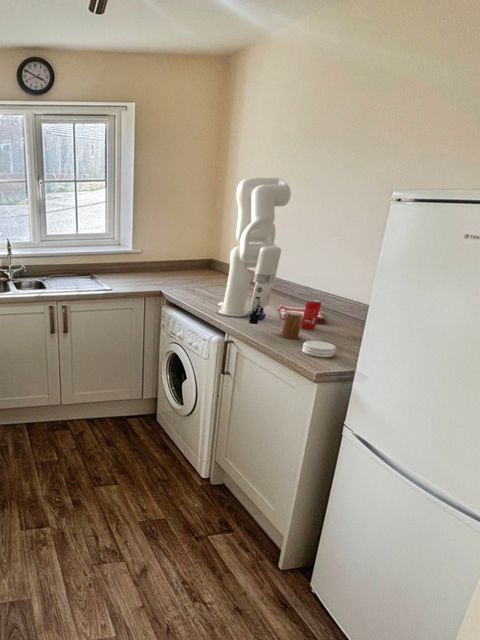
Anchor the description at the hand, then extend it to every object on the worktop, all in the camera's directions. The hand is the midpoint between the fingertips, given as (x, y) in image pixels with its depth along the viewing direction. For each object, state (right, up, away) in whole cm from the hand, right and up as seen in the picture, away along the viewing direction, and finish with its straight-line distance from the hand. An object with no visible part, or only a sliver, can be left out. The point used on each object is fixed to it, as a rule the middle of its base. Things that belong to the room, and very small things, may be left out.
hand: (255, 321), depth 188 cm
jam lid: (0, +3, -1) cm, 3 cm away
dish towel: (+36, +6, +27) cm, 45 cm away
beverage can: (+27, -2, +8) cm, 28 cm away
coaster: (+11, -15, -23) cm, 29 cm away
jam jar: (+12, -7, -4) cm, 14 cm away
